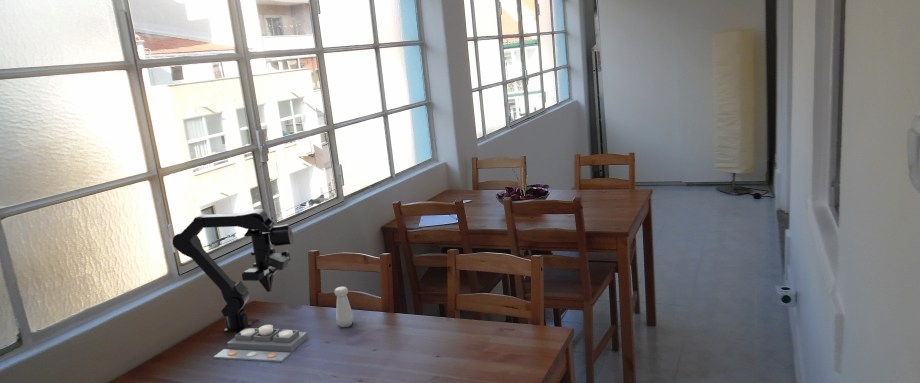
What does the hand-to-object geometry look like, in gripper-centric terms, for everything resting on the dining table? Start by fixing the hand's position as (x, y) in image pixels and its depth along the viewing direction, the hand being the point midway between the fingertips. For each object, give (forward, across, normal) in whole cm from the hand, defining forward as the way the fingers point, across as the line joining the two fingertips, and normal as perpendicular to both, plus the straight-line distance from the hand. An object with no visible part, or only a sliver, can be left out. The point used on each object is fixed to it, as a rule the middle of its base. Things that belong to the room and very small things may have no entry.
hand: (269, 291), depth 233 cm
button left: (+10, -14, +1) cm, 17 cm away
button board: (+12, -14, -6) cm, 20 cm away
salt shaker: (+12, +2, -26) cm, 29 cm away
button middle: (+8, -14, -6) cm, 18 cm away
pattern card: (+12, -23, -6) cm, 27 cm away
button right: (+10, -14, -13) cm, 22 cm away
